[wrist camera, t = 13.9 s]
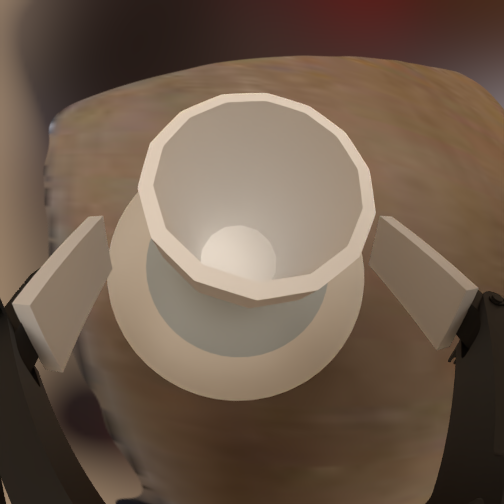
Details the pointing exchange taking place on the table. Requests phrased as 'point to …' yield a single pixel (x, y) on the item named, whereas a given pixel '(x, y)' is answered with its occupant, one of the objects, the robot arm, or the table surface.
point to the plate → (223, 323)
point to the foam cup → (256, 198)
